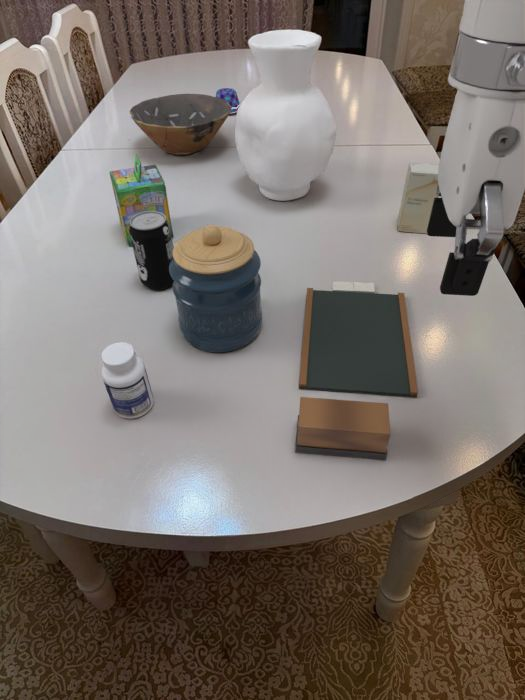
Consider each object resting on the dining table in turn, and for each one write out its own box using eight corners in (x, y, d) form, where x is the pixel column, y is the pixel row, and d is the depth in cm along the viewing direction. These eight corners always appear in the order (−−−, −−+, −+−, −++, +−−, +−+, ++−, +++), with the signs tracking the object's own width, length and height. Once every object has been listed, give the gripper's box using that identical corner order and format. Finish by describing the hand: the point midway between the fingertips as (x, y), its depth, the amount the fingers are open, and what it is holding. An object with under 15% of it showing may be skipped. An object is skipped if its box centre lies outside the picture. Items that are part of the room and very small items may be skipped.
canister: (219, 291, 85) (209, 194, 73) (279, 321, 79) (279, 221, 67) (163, 330, 78) (141, 231, 66) (223, 367, 72) (212, 265, 60)
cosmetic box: (397, 232, 98) (408, 172, 89) (396, 220, 101) (407, 161, 92) (430, 234, 97) (445, 174, 88) (428, 222, 100) (442, 163, 92)
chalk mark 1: (353, 285, 86) (353, 282, 85) (353, 294, 84) (353, 290, 83) (332, 284, 86) (333, 281, 85) (332, 293, 84) (332, 289, 84)
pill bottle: (119, 389, 69) (102, 337, 62) (157, 389, 69) (144, 337, 62) (109, 419, 65) (89, 368, 59) (149, 420, 65) (134, 368, 58)
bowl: (251, 152, 127) (249, 111, 120) (164, 177, 117) (156, 134, 111) (202, 123, 142) (199, 86, 135) (122, 144, 133) (113, 104, 126)
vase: (279, 163, 122) (279, 19, 101) (348, 191, 110) (364, 35, 90) (222, 189, 112) (209, 36, 92) (291, 222, 101) (294, 56, 80)
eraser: (383, 427, 64) (389, 402, 60) (385, 460, 60) (392, 435, 57) (297, 420, 65) (298, 395, 61) (295, 452, 61) (296, 427, 58)
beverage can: (133, 281, 88) (118, 220, 79) (162, 265, 91) (151, 205, 83) (157, 296, 84) (143, 234, 76) (186, 279, 88) (176, 218, 79)
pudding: (210, 117, 146) (208, 98, 142) (205, 104, 154) (203, 86, 151) (250, 114, 147) (249, 95, 144) (243, 101, 156) (242, 83, 152)
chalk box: (120, 225, 102) (103, 153, 92) (165, 216, 104) (152, 145, 94) (128, 248, 96) (110, 173, 85) (174, 238, 98) (162, 165, 87)
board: (403, 297, 83) (404, 292, 82) (417, 397, 67) (418, 392, 66) (307, 292, 84) (307, 287, 84) (298, 388, 69) (298, 384, 68)
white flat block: (373, 286, 85) (374, 282, 85) (374, 295, 84) (375, 291, 83) (353, 285, 86) (353, 281, 85) (353, 294, 84) (353, 290, 83)
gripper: (607, 102, 29) (512, 323, 41) (529, 33, 41) (473, 218, 53) (475, 100, 30) (419, 318, 42) (437, 33, 42) (401, 215, 54)
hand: (449, 262), depth 48 cm, fingers open, 9 cm apart
